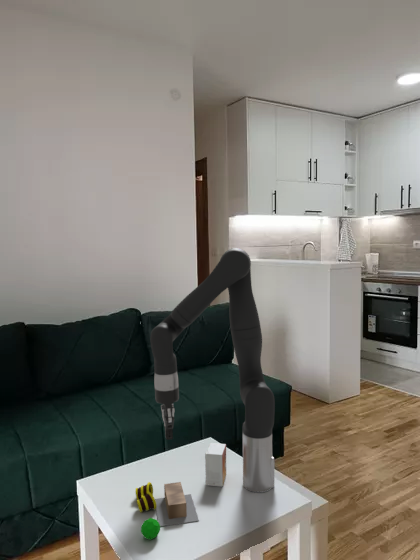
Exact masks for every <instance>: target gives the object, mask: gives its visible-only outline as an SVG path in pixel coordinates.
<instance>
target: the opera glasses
mask: <svg viewBox="0 0 420 560" xmlns="http://www.w3.org/2000/svg"><path fill="white" fill-rule="evenodd" d="M135 498H136V504H137V508H138V511H139V513H143V512H145V511H146V512H147V511H150V510H156V507H157V505H156V501H155V499H156V498H155V497H154V487H153V484H152V482H151V481H148V482H147V484H145V485H141V486H140V487H136V488H135Z"/></svg>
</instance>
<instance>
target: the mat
mask: <svg viewBox="0 0 420 560" xmlns="http://www.w3.org/2000/svg"><path fill="white" fill-rule="evenodd" d="M184 496H185V500H186V509H187V516H186V517H179V518H173V519H169V517H168V512H167V507H166V502H165V497H161V498H160V497H159V498H154V499H155V501H156V505H157V507H156V509H155V511H156V516H157V521H158V523H159V524H160V528H161V527H169V526H177V525H184V524H189V523H195V522H199V521H200V520H199V516H198V514H197V510H196V507H195V506H196V505H195V503H194V501H193V500H194V499H193V496H192V494H190V493H189V494H184Z"/></svg>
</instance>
